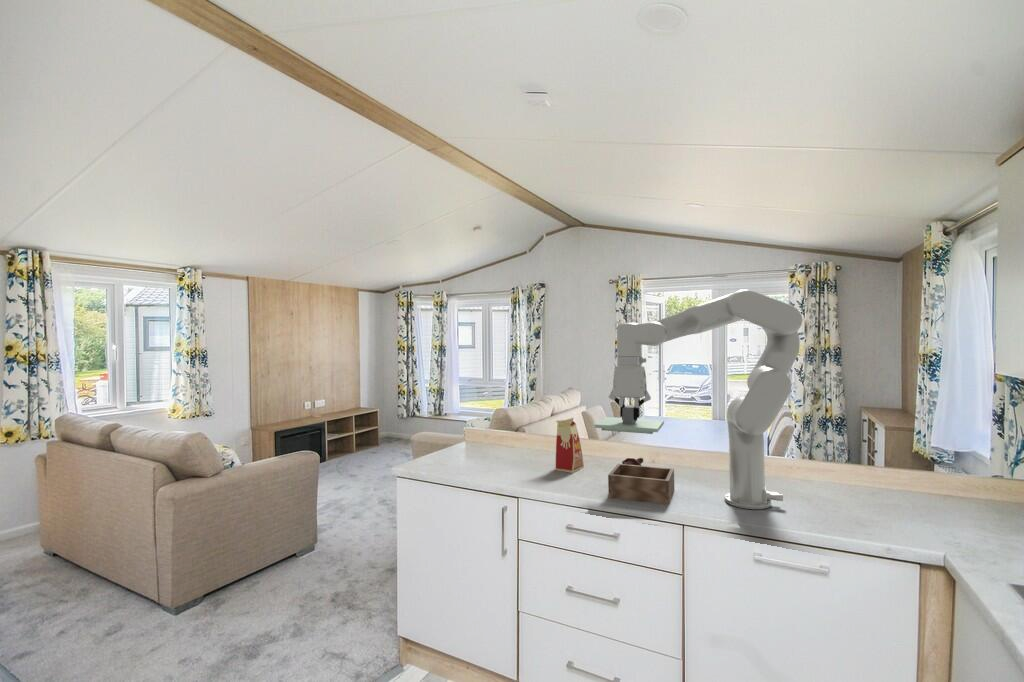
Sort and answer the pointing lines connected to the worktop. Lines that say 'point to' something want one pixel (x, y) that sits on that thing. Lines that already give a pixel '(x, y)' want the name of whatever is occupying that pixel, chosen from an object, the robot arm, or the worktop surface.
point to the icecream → (633, 461)
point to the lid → (629, 423)
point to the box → (641, 483)
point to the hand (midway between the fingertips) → (629, 418)
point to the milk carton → (568, 447)
